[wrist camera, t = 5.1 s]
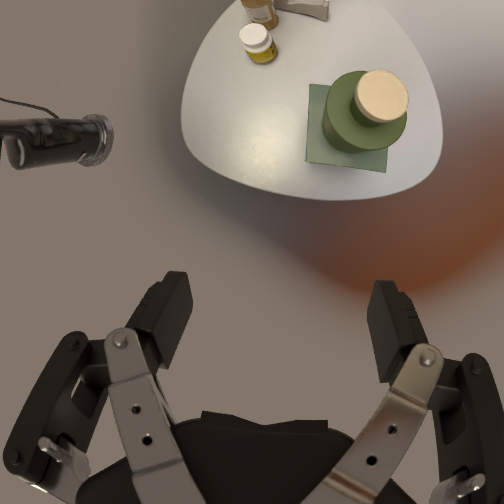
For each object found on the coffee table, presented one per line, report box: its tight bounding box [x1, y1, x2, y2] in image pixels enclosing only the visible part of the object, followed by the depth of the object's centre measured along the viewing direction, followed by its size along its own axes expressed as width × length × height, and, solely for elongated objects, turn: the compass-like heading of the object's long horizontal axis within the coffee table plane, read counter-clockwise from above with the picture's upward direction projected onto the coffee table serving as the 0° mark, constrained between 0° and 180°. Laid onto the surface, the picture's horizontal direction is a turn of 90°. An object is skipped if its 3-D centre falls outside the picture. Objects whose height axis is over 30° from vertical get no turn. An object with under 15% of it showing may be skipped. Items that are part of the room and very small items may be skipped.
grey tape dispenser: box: [272, 0, 329, 21], centre depth 31 cm, size 6×1×10 cm
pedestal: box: [306, 84, 388, 173], centre depth 31 cm, size 8×8×20 cm
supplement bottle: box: [240, 23, 277, 65], centre depth 34 cm, size 5×5×8 cm
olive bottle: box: [322, 70, 409, 154], centre depth 16 cm, size 5×5×13 cm
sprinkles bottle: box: [241, 0, 278, 30], centre depth 29 cm, size 5×5×13 cm
